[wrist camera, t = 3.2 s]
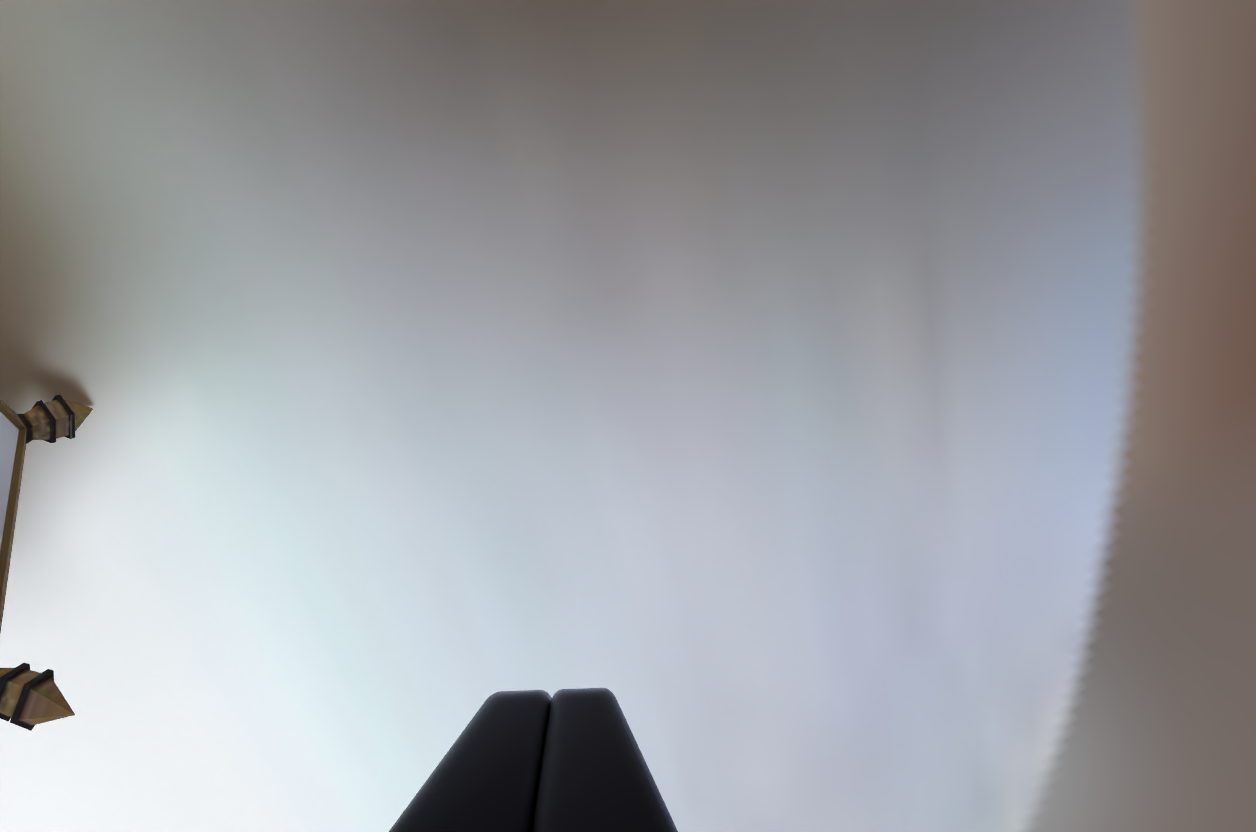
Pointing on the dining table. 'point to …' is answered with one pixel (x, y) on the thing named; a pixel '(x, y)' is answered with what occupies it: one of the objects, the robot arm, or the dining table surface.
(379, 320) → the dining table surface
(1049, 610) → the dining table surface
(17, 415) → the game die
